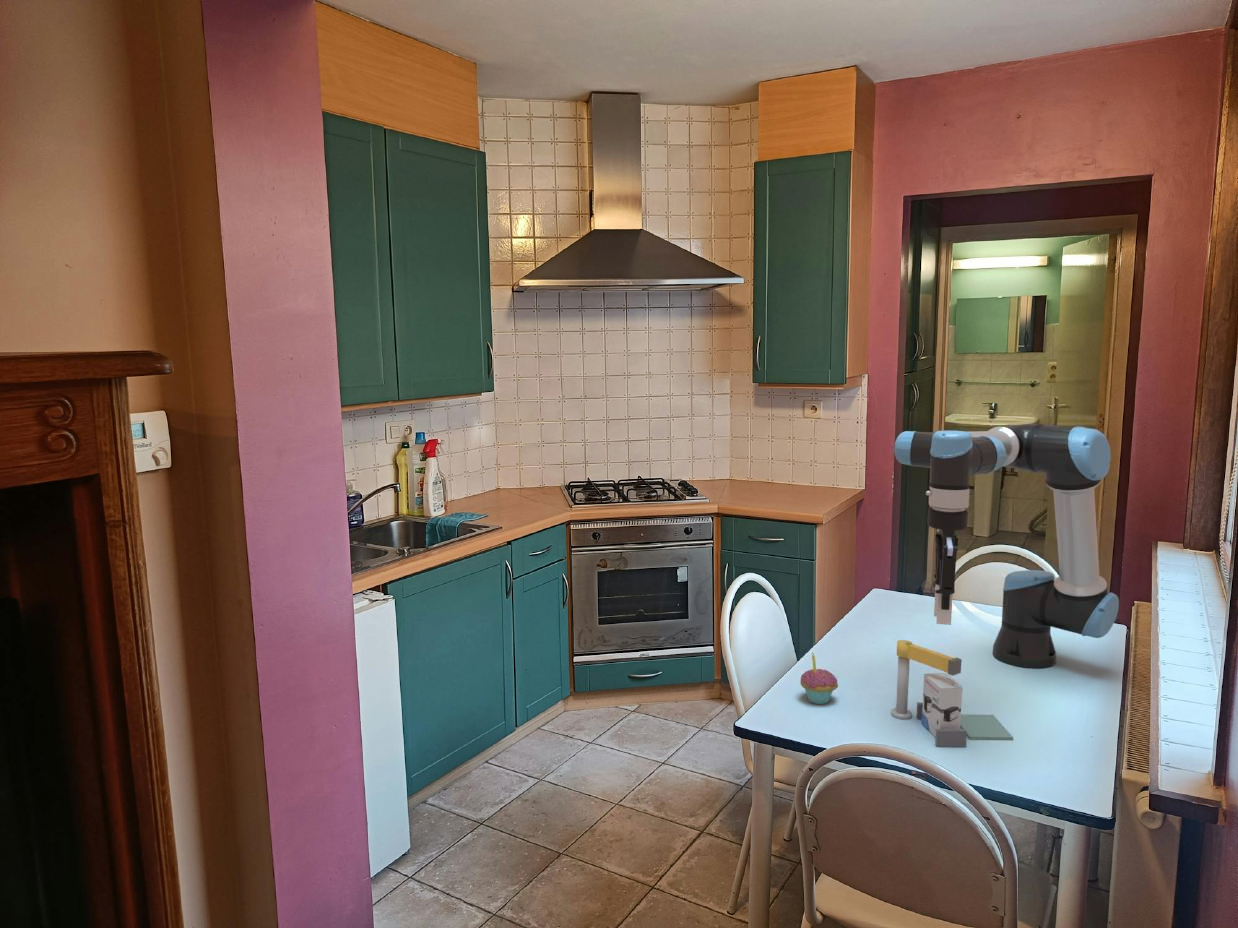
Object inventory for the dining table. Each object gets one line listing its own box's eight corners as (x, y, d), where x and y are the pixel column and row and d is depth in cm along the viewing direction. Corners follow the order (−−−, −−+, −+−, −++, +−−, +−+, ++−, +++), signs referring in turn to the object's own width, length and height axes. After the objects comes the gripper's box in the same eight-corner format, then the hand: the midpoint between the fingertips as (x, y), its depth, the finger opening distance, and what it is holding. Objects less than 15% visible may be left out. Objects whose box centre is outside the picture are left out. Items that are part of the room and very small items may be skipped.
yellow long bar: (893, 654, 193) (894, 641, 192) (902, 651, 194) (903, 639, 194) (952, 675, 181) (952, 662, 180) (961, 672, 182) (962, 658, 182)
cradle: (938, 711, 196) (941, 653, 194) (966, 747, 179) (969, 684, 177) (888, 710, 197) (891, 653, 195) (911, 746, 180) (914, 684, 178)
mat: (992, 717, 193) (992, 714, 193) (1013, 739, 182) (1013, 737, 182) (951, 716, 193) (952, 714, 193) (969, 739, 183) (969, 736, 182)
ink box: (920, 723, 190) (923, 672, 188) (942, 722, 191) (945, 671, 189) (938, 741, 182) (940, 688, 180) (960, 740, 182) (963, 687, 180)
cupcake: (815, 710, 197) (817, 659, 195) (792, 696, 205) (793, 647, 203) (844, 702, 201) (846, 653, 199) (820, 689, 209) (821, 641, 207)
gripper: (924, 499, 183) (919, 606, 187) (932, 515, 167) (927, 632, 170) (962, 500, 181) (956, 608, 185) (974, 517, 165) (967, 635, 168)
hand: (942, 619), depth 177 cm, fingers open, 4 cm apart
